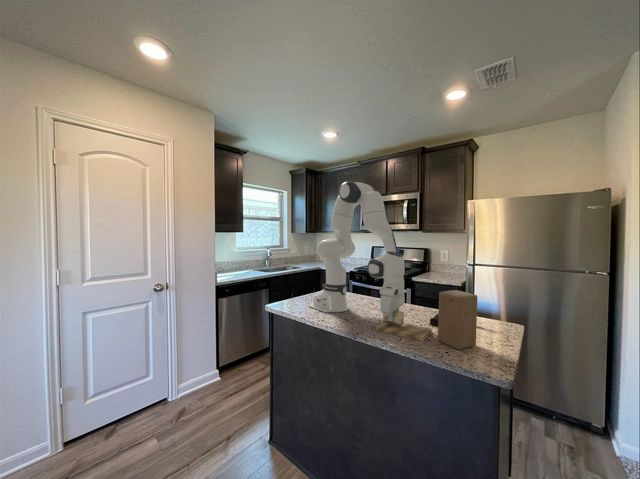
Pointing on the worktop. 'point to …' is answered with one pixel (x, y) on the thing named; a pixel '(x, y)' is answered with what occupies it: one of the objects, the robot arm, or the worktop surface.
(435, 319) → the hand tool
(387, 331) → the board
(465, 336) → the wooden block
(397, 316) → the sanding block
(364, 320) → the worktop surface
